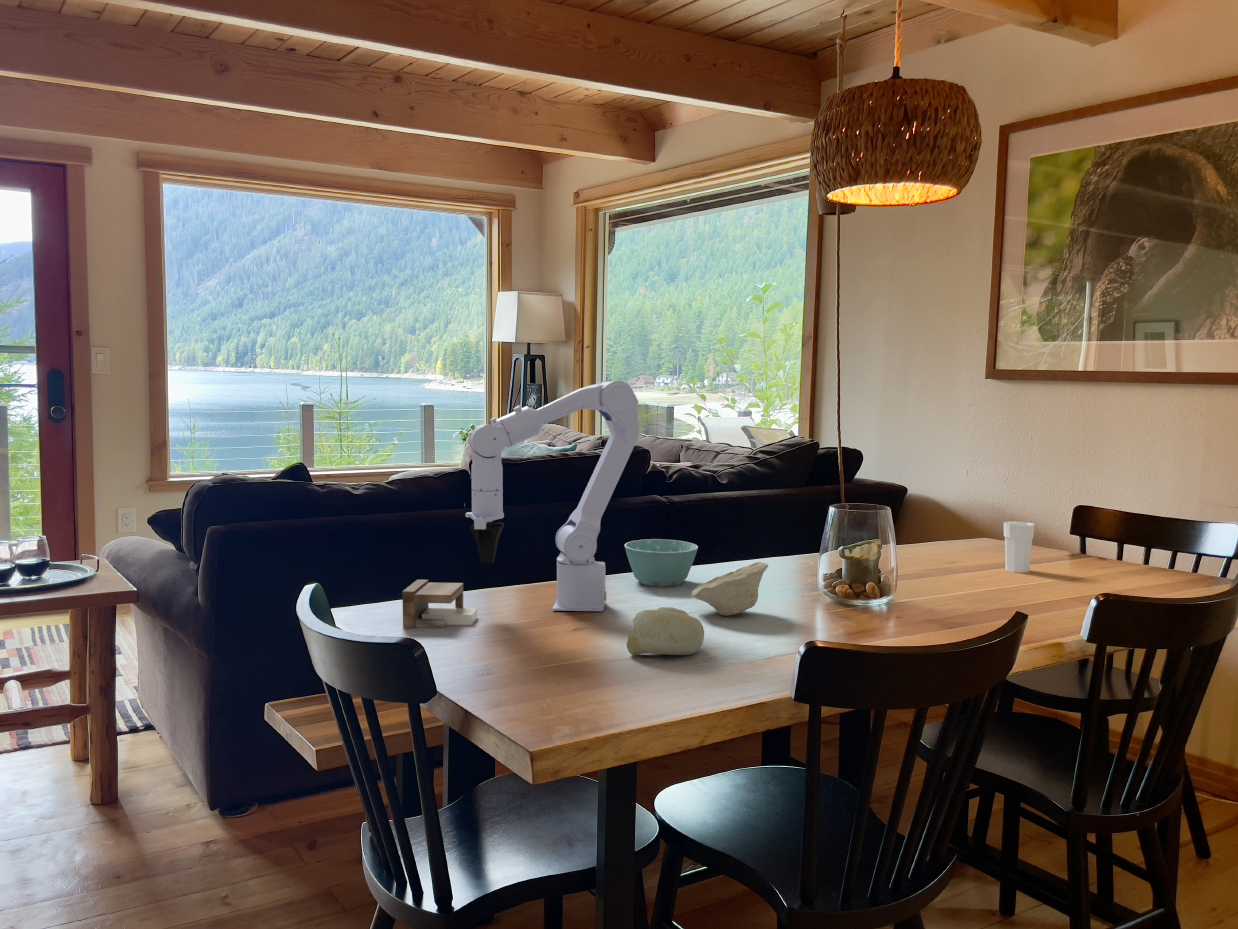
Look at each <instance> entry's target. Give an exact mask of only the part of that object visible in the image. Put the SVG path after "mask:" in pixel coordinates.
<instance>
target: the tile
mask: <svg viewBox="0 0 1238 929" xmlns="http://www.w3.org/2000/svg"><path fill="white" fill-rule="evenodd" d="M422 619H442V620H445V625H450V626H451V625H452V626H453V625H454V626H455V625H456V626H457V625H458V626H459V625H460V626H461V625H465V626H472V625H473V624H474V623H475V621H476V620H477V619H478V608H477V607H476V608H474V607H473V608H471V607H470V608H469V607H468V608H467V607H466V608H465V607H463V608H455V607H429V608H427V609H426V610H425V611H424V612H423V613H422Z"/></svg>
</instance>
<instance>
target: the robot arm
mask: <svg viewBox="0 0 1238 929" xmlns="http://www.w3.org/2000/svg"><path fill="white" fill-rule="evenodd" d="M638 406H639V400H638V398H637V396H636V394H635V392H634V389H633V388H632V387H631V385H629V383H627V382H625V381H622V380H613V381H612V380H603V381H600V382H598V383H597V384H595V383H594V384H590V385H587V386H584V387H580V388H577V389H575V390H574V391H572V392H570V393H567V394H565V395H564V396H562V397H559V398H557V399H555V400H553V401H551V402H549V403H547V404H544V405H543V406H541V407H539V408H537V409H535V408H532V407H529V406H524V407H521V406H520V405H518V406H516V407H514V408H513V411H512V412H511V413H508V414H505V415H504V416H503V415H502V416H501V417H499V418H496V417H492V418H491V419H489V421H490V423H491V424H481V425H478V426H477V427H475V428H474V429H473V431H472V432H471V434H470V438H469V439H468V442H469V443H468V444H469V447H470V448H471V450H472V455H471V461H472V464H471V467H470V468H471V511H470V512H469V511H468V512H466V513H465V514H464V515H465V517H466V518H471V520H473V524H471V525H470V530H471V532H472V534H473V536H474V539H475V541H476V544H477V548H478V553H479V558H480V561H481V562H480V563H483V564H485V563H488V564H489V563H490V564H492V563H494V562H495V558H496V553H497V547H498V542H499V540H500V536H501V532H502V531H503V528H504V527H505V523H504V522H502V521H501V522H500V521H499V522H496V520H500V519H501V520H502V519H503V518H504V517H505V513H504V509H503V508H504V507H503V506H504V505H503V504H504V503H503V502H504V499H503V498H504V496H503V492H504V489H503V488H504V486H503V481H504V479H503V475H504V474H503V473H504V472H503V471H504V470H503V469H504V468H503V467H504V466H503V464H502V452H503V451H504V449H505V447H507V448H512V447H513V446H517V445H519V444H520V443H523V442H525V441H527V440H529V439H532V438H533V437H537V436H538V435H539V434H540V432H541V430H542V427H543V426H544V425H546V424H548V423H550V422H553V421H556V420H558V419H561V418H563V417H566V416H568V415H570V414H574V413H576V412H578V411H580V410H593V411H597V412H599V414H600V415H601V416H602V417H603V418H604V420H605V423H606V425H607V428H608V430H609V432H610V435H609V437H608V439H607V442H606V444H605V446H604V448H603V450H602V453H601V455H600V457H599V460H598V461H597V464H596V466H595V467H594V470H593V473H592V474H591V476H590V478H589V481H588V482H587V485H586V487H585V490H584V491H583V493H582V496H581V498H580V501H579V502H578V505H577V507H576V508H575V509H574V510H573V511H572V513H571V514H570V515H569V517H568V519H567V521H566V522H565V523H564V524H563V525H562V526H561V527H560V528H559V529H558V530H557V532H556V533H555V534H556V535H555V540H554V541H555V544H556V548H557V549H558V550H559V551H560V552H559V555H558V556H557V557H556V601H555V603H554V604H553V606H552V611H554V612H555V611H557V612H559V611H561V612H562V611H563V612H565V611H567V612H603V611H604V609H605V605H606V603H607V602H606V601H607V591H606V562H604V561H596V560H595V557H594V556H595V553H597V548H598V544H597V543H598V542H597V540H598V536H599V534H600V532H601V520H602V517H603V515H604V512H605V511H606V508H607V506H608V504H609V502H610V501H611V498H612V495H613V493H614V491H615V489H616V486H617V484H618V482H619V481H620V478H621V476H622V474H623V472H624V471H625V470H624V469H625V467H626V465H627V463H628V461H629V458H630V456H631V454H632V452H633V449H634V447H635V446H636V443H637V441H638V439H639V437H640V425H639V423H640V422H639V413H638Z"/></svg>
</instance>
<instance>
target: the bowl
mask: <svg viewBox="0 0 1238 929" xmlns="http://www.w3.org/2000/svg"><path fill="white" fill-rule="evenodd" d="M698 548H699V546H698V545H697V544H695V543H693V542H688V541H683V540H677V539H676V540H675V539H664V538H663V539H661V538H651V539H639V540H631V541H628V542H626V543H625V544H624V549H625V553H626V556H627V559H628V562H629V565H630V568H631V570H632V571H631V572H632V573H633V576H634V578H635V579H636V580H637V581H638V582H639V583H640V584H642V585H644V586H649V587H656V588H657V587H658V588H660V587H661V588H666V587H667V588H668V587H676V586H678V585H681V584H682V583H683V582H685V581H686V579H687V578H688V576H689V574H690V570H691V568H692V565H693V563H694V561H695V558H696V555H697V553H698Z"/></svg>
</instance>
